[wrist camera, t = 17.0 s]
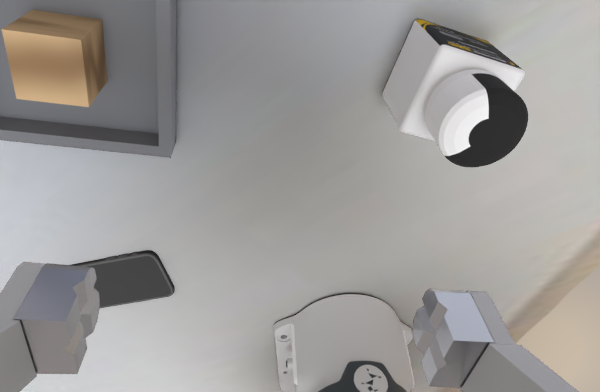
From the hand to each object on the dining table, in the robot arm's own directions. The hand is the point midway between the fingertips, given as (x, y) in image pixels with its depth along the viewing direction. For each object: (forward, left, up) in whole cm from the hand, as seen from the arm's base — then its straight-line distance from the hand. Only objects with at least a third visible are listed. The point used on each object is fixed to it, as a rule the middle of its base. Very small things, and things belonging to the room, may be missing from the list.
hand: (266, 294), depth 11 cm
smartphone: (-33, +15, -31) cm, 48 cm away
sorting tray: (-5, +15, -30) cm, 34 cm away
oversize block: (-6, +15, -29) cm, 33 cm away
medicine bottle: (-3, -15, -30) cm, 34 cm away
